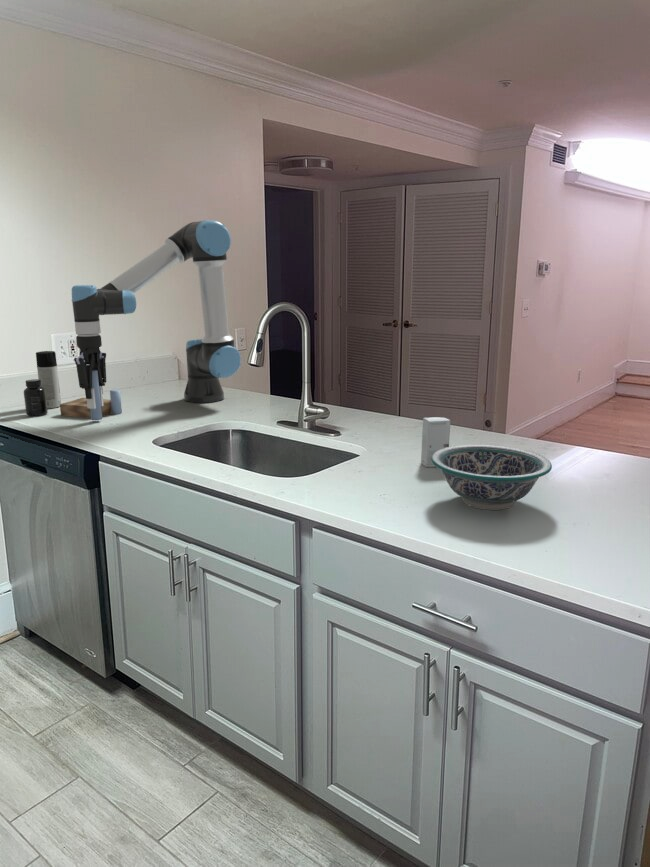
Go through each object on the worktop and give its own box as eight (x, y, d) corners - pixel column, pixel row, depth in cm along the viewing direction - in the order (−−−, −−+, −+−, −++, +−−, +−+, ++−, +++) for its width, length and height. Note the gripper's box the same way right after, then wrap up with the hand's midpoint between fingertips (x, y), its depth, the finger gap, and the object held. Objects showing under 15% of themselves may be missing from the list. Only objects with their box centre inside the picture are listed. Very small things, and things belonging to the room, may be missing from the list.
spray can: (65, 406, 238) (59, 351, 233) (48, 409, 232) (42, 353, 227) (53, 404, 241) (48, 350, 236) (37, 407, 236) (31, 352, 231)
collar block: (117, 411, 230) (116, 400, 229) (95, 418, 219) (94, 406, 218) (83, 408, 234) (82, 397, 233) (60, 415, 223) (59, 404, 222)
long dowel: (104, 418, 215) (99, 370, 211) (97, 420, 212) (93, 371, 208) (95, 417, 216) (90, 369, 212) (89, 419, 213) (84, 371, 209)
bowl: (495, 533, 125) (498, 486, 123) (405, 497, 144) (407, 455, 142) (572, 506, 139) (576, 463, 137) (481, 476, 159) (484, 438, 156)
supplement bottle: (51, 412, 227) (48, 378, 224) (41, 417, 221) (37, 382, 218) (32, 412, 228) (29, 378, 225) (22, 416, 222) (18, 381, 219)
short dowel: (123, 412, 228) (122, 390, 226) (118, 414, 224) (116, 391, 222) (115, 412, 229) (113, 389, 227) (109, 414, 225) (107, 391, 223)
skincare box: (426, 467, 166) (428, 421, 163) (420, 462, 170) (421, 417, 167) (449, 466, 167) (451, 420, 164) (442, 461, 171) (444, 416, 168)
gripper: (94, 331, 216) (101, 401, 222) (61, 337, 201) (69, 411, 207) (113, 332, 214) (120, 402, 220) (81, 338, 198) (89, 413, 204)
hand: (95, 406), depth 213 cm, fingers closed on long dowel, 3 cm apart
